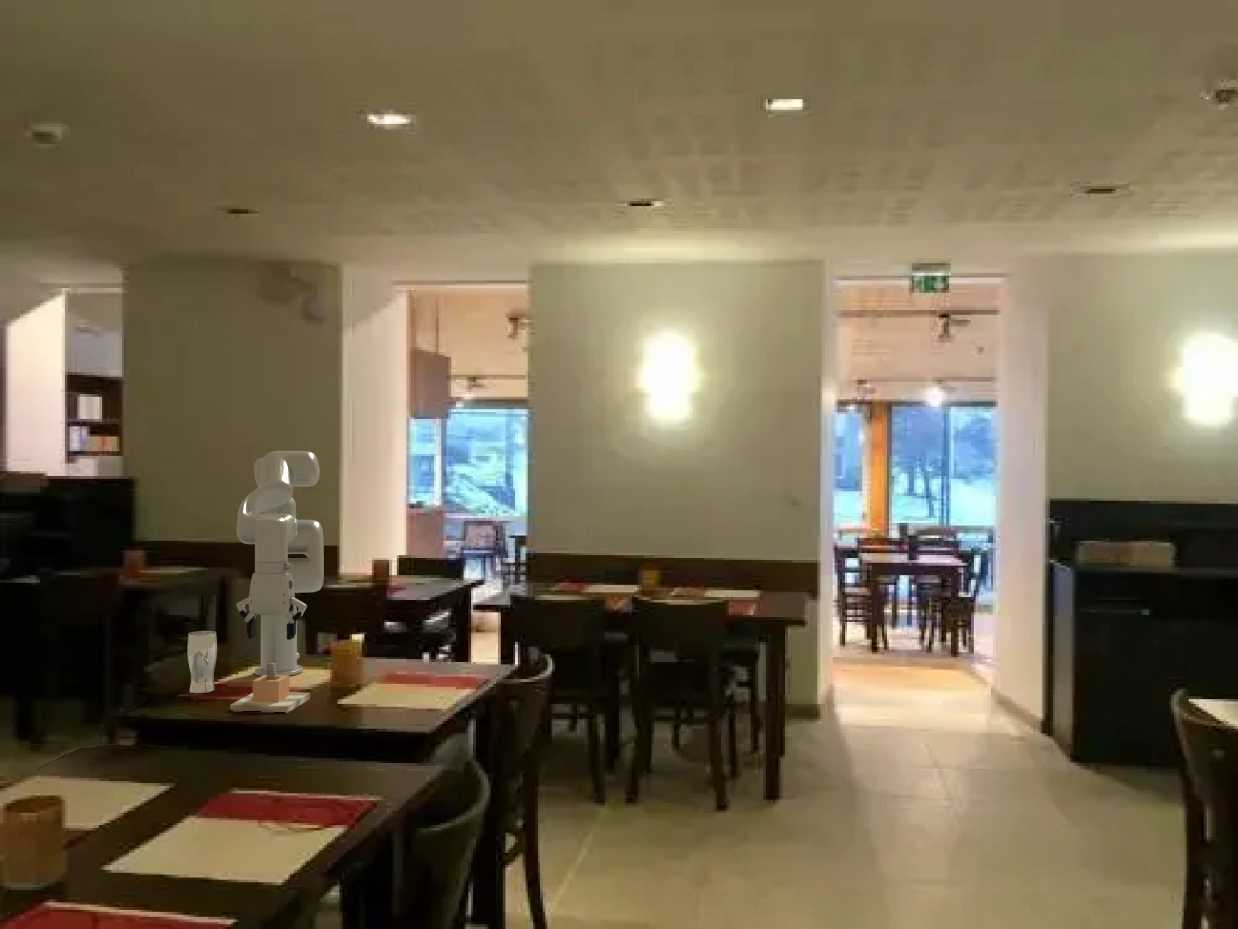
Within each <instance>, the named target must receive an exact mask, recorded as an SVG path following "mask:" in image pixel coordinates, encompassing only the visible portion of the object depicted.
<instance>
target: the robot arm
mask: <svg viewBox="0 0 1238 929" xmlns="http://www.w3.org/2000/svg"><path fill="white" fill-rule="evenodd" d="M320 472H321V470H320V463H319V460H318V458H317V455H316V454H315V453H313V452H312V451H308V450H307V451H306V450H275V451H271V452H269V453H267V454H266V455H265V454H264V456H263V457H260V458H258V459H256V461H255V462H254V466H253V475H254V479H255V480H254V481H255V483H256V484H255V485H256V486H257V488H256V489H254V490H253V491H251V492H250V493H249V494H248V495H247V496H245V498H244V499H242V502H241V503H240V504H239V507H238V512H237V518H236V520H237V521H236V535H237V538H238V540H239V541H240V542H242V543H243V544H246V545H254V564H255V565H254V573H252V576H251V579H250V580H251V581H250V586H249V592H248V593H249V595H248V597H246V598H244V599H242V600H240V601H239V602H237V603H236V604H235V606H236V608H237V610H238V612H239V615H240V616H241V617H242V618H243V619H244V622H245V623H246V635H247V637H248V638H247V639H249V640H250V639H253V638H255V637H256V636H257V620H256V617H257V616H260V666H258V667H256V668H255V669H254V675H257V676H259V677H261V676H263V675H267V664H268V663H276V675H285V676H289V677H290V676H294V675H298V674H301V673H302V672H303V671H304V670H303V666H302V665H300V664H298V659H299V658H300V657H301V656H300V653H299V652H298V643H297V642H298V620H299V619H300V618H302V617H303V616H304V612H306V609H307V608H308V605H307V604H306V603H304V602H303V601H301V600H299V599H298V598H296V597H295V596H296V594H295V593H298V594H300V593H315V592H318V591H320V590H321V589H322V587H323V585H324V578H325V577H324V576H325V575H324V574H325V570H324V569H325V568H324V564H325V561H324V560H325V556H324V554H325V553H324V548H325V546H324V544H325V543H324V541H325V540H324V531H323V527H322V525H321V523H320V522H319V521H317V520H313V519H297V518H296V517H297V514H296V513H297V507H296V506H297V503H296V500H295V498H293V494H294V487H296V488H297V487H303V488H305V487H314V486H316V485H317V484H318V481H319V479H320ZM297 554H299V555H300V554H301V555H302V554H303V555H305V556H306V557H300V558H297V557H295V558H292V557H291V558H289V556H288V555H297ZM246 605H248V609H246ZM297 609H298V610H297ZM248 610H249V611H248Z"/></svg>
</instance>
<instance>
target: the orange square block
mask: <svg viewBox="0 0 1238 929" xmlns="http://www.w3.org/2000/svg"><path fill="white" fill-rule="evenodd" d="M289 692H290V676H285V675H276V680H267V675H263V676H259V677H257V678H255V679H253V680H252V693H253V701H254V702H280V701H281V700H283V699H285V698H286V697H288V696H289Z"/></svg>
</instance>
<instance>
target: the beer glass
mask: <svg viewBox="0 0 1238 929" xmlns="http://www.w3.org/2000/svg"><path fill="white" fill-rule="evenodd" d="M187 635H188V637H187V638H188V639H187V661H188V666H189V671H190V685H189V686H190V687H189V690H188V691H189V694H191V693H208V692H211V691H214V690H215V691H216V687H215V683H214V682H215V681H214V672H215V667H216V663H217V662H216V661H217V655H218V653H217V652H218V645H217V642H218V641H217V632H216V631H214V630H213V631H212V630H201V631H200V630H199V631H192V632H189V633H188V634H187ZM215 691H214V692H215ZM208 694H209V693H208Z"/></svg>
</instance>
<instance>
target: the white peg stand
mask: <svg viewBox="0 0 1238 929" xmlns="http://www.w3.org/2000/svg"><path fill="white" fill-rule="evenodd" d="M267 680H276V663H268V664H267ZM310 699H311V693H310V692H300V691H299V692H294V691H293V692H292V691H291V692H290V691H289V696H288V697H286V698H285V699H283V700H281V701H280V702H254V701H253V692H252V693H250V694H248V695H246V696H244V697H242V698H240V699H237V701H235V702H233V703H231V704H230V705H229V711H230V710H233V711H232V712H242V711H261V712H260V713H274V712H285V714H288V713H290V712H292V711H293V710H295V709H296V708H298V707H299V706H301V705H303V704H305V703H306V702H307V701H310ZM289 711H290V712H289Z"/></svg>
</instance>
